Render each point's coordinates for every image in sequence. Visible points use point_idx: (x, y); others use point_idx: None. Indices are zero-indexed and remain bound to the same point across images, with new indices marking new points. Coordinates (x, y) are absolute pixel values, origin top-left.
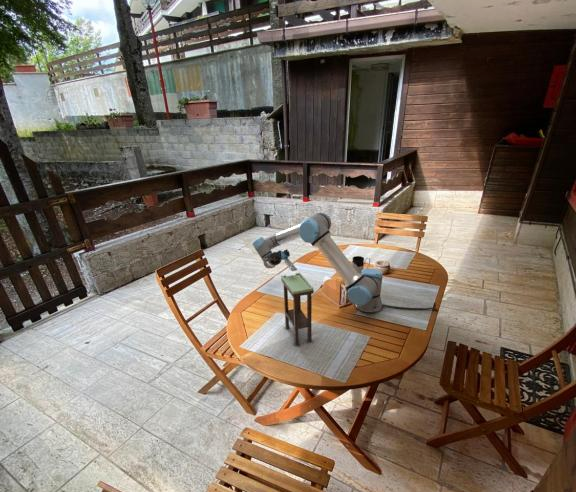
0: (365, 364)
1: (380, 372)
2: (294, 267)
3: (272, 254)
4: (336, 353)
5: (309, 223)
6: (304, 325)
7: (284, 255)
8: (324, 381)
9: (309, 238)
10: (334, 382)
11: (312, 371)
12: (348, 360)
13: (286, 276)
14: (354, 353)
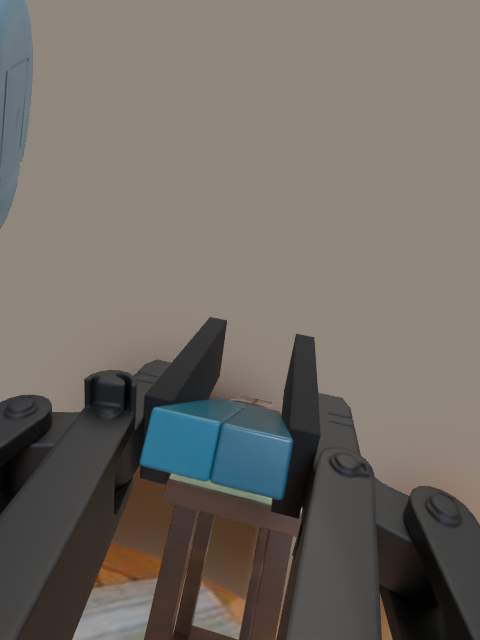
0: (109, 571)
1: (108, 548)
2: (250, 398)
3: (411, 500)
4: (130, 630)
5: (32, 57)
6: (207, 633)
7: (229, 403)
8: (229, 595)
9: (2, 196)
10: (211, 583)
11: (239, 627)
12: (129, 597)
13: (270, 498)
14: (89, 601)
